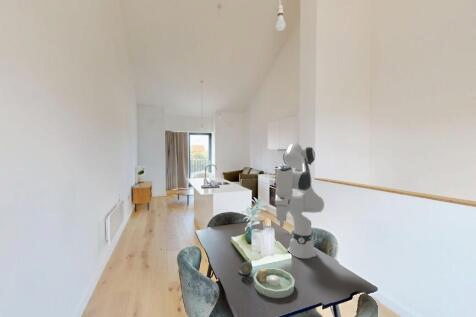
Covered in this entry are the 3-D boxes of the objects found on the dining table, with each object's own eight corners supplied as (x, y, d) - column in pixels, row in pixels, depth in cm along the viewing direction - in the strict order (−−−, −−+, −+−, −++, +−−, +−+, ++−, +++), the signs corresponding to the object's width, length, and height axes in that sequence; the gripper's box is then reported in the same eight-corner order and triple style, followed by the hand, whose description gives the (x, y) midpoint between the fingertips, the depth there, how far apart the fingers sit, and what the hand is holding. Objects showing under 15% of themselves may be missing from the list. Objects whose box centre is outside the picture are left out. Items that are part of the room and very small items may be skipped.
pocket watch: (243, 267, 132) (243, 250, 131) (255, 273, 127) (255, 255, 126) (234, 273, 126) (234, 255, 125) (246, 279, 120) (246, 260, 120)
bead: (259, 277, 120) (259, 268, 120) (267, 279, 119) (267, 269, 119) (257, 282, 116) (257, 272, 116) (265, 284, 115) (265, 274, 115)
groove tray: (259, 271, 128) (259, 265, 128) (295, 278, 122) (296, 272, 122) (249, 292, 110) (249, 285, 109) (291, 302, 103) (292, 295, 103)
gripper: (280, 192, 130) (280, 216, 131) (274, 201, 111) (273, 229, 112) (292, 193, 128) (291, 217, 129) (287, 203, 108) (286, 231, 110)
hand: (283, 223), depth 120 cm, fingers open, 8 cm apart
